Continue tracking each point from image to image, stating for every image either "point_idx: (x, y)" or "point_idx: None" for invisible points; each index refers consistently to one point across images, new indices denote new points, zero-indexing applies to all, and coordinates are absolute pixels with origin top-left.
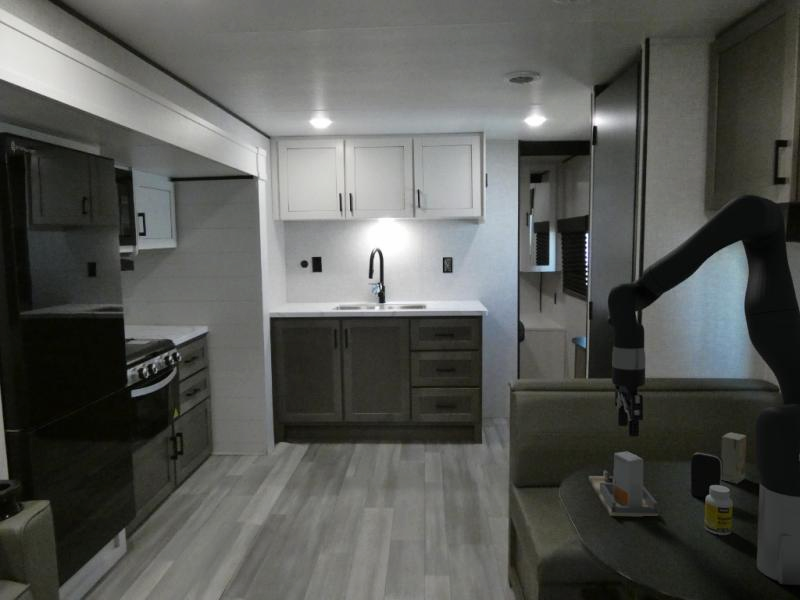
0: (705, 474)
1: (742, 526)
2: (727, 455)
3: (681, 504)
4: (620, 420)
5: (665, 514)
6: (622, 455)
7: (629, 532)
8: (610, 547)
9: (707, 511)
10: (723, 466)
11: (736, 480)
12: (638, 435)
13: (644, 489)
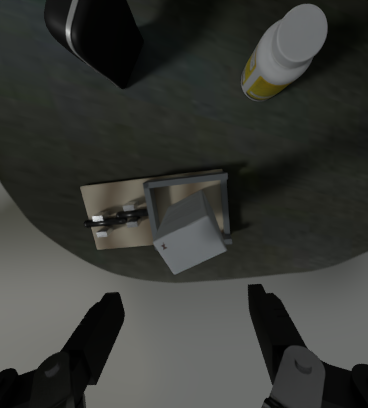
0: (115, 37)
1: (242, 24)
2: None
3: (166, 118)
4: (115, 332)
5: (210, 155)
6: (187, 260)
7: (276, 219)
8: (320, 249)
9: (279, 89)
10: None
11: None
12: (260, 284)
13: (169, 183)
